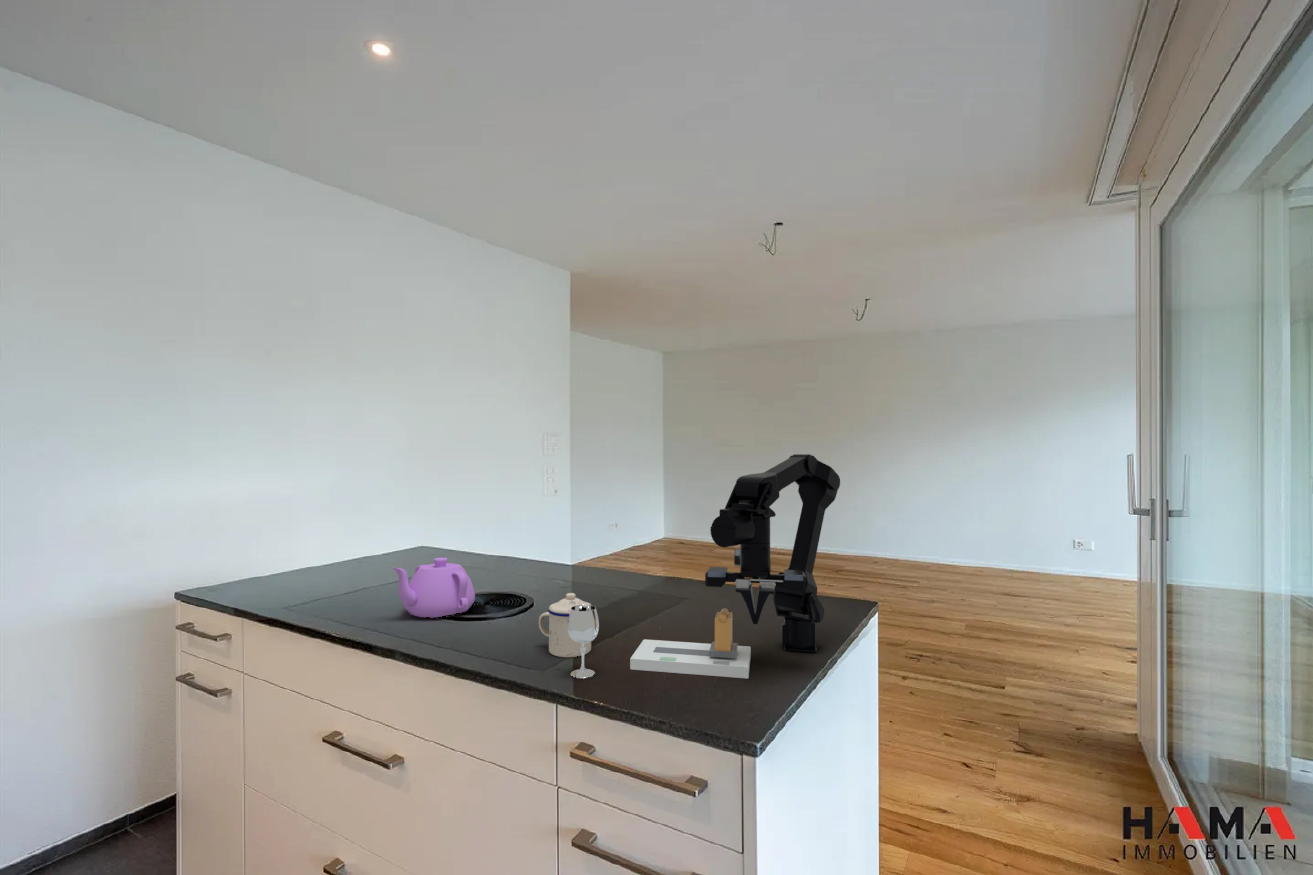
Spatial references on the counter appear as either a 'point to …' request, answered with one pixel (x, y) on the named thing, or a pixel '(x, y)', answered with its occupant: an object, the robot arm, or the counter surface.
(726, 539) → the robot arm
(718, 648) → the toggle
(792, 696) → the counter surface
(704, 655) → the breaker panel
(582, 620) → the wineglass
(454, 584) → the teapot
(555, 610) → the teacup with lid
